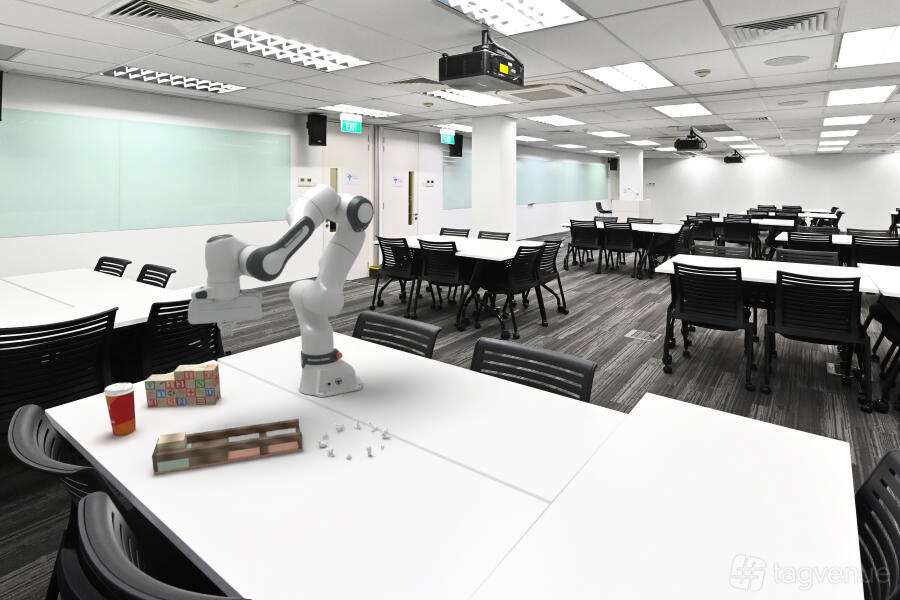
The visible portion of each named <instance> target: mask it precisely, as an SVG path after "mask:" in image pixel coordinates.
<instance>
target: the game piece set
mask: <svg viewBox="0 0 900 600" xmlns="http://www.w3.org/2000/svg"><path fill="white" fill-rule="evenodd" d="M359 423H360V419H359V418H357V419H356V425H355V426H353V428H354V430H355V431H360V430H362V425H360V424H359ZM368 424H369V425H370V426H371V427H372V429H371V432H372V433H375V432H376V431H377V430H378V427H377V426H374V425H372V424H371V421H370V422H368ZM334 425H335V426H337V427H338V428H337V427H335V431H337V433H338V432H342V431H343V430H344V429H345V427H344V425H345V423H343V424H341V425H339V424H338V423H334ZM387 434H389V429H387V428H384V429H382V431H381V434H380V437H382V439H384V440H385V439H386V436H387ZM328 439H329V433H328V431H325V433H323V434H322V440H328ZM322 440H321V439H319V440H317V441H316V443H318V446H320V448H323V447H326V446H327V445H328V444H329V442H326V441H322ZM384 448H385V445H384V444H383V445H382V444H381V445H380V449H384ZM365 450H366V451H367V456H368V457H370V456H372V446H370V445H367V446H366V448H365ZM334 451H335V447H333V446H330V447H329V448H327V449H326V452H327V453H328V454H327V457H328V458H331V457H333V456H335V454H334ZM352 457H353V456H352V455H351V454H350V453H348V454H347V455H346V456H345V458H346V460H351V459H352Z"/></svg>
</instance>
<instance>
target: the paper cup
mask: <svg viewBox="0 0 900 600" xmlns="http://www.w3.org/2000/svg"><path fill="white" fill-rule="evenodd" d="M135 389H136V388H135V386H134V384H133V383H131V382H118V383H114V384H111V385H108V386H106V387H105V388H104V391H103V395H104V396H105V402H106V405H107V411H108V416H109V420H110V425H111V429H112V433H113V435H114V436H116V437H117V436H118V437H120V436H121V437H122V436H123V437H124V436H127V435H130V434H133V433H135V431H136V430H137V429H136V428H137V427H136V426H137V425H136V406H135Z"/></svg>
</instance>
